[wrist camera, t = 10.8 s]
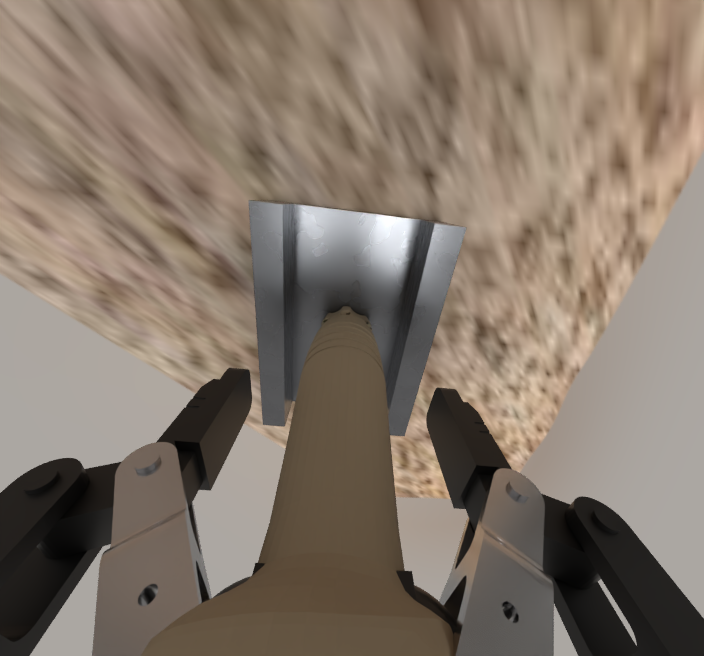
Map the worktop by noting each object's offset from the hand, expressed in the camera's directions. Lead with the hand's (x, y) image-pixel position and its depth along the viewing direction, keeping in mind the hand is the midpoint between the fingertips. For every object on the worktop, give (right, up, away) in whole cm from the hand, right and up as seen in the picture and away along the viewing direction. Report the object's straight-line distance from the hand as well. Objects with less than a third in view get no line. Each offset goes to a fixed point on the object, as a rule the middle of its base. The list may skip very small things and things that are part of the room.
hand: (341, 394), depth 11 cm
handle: (0, +3, +6) cm, 7 cm away
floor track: (0, +3, +7) cm, 8 cm away
